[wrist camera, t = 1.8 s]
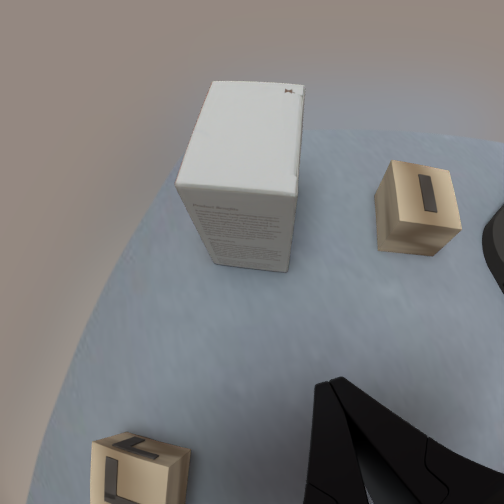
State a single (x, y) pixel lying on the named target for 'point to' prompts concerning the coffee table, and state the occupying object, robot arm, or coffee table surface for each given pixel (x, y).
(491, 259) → the media streaming box
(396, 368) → the coffee table surface
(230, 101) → the small box
